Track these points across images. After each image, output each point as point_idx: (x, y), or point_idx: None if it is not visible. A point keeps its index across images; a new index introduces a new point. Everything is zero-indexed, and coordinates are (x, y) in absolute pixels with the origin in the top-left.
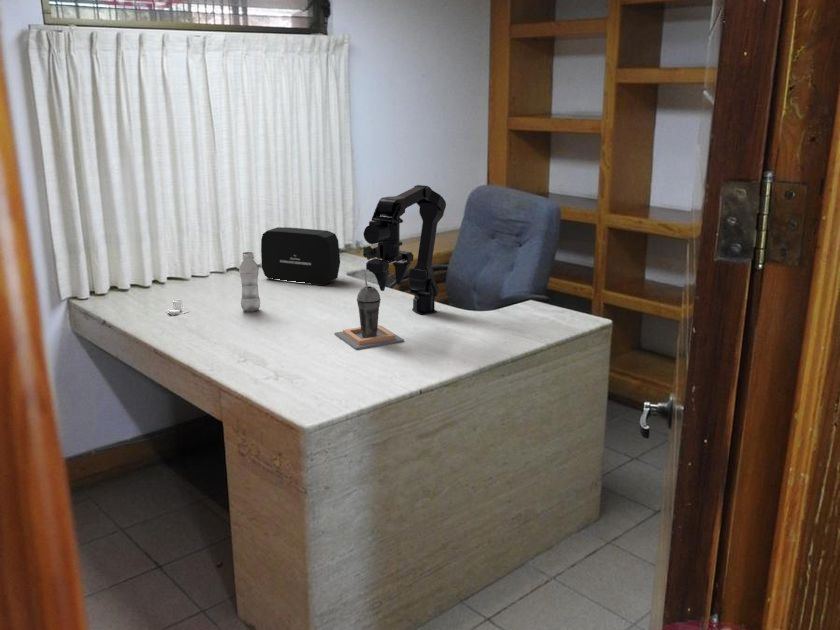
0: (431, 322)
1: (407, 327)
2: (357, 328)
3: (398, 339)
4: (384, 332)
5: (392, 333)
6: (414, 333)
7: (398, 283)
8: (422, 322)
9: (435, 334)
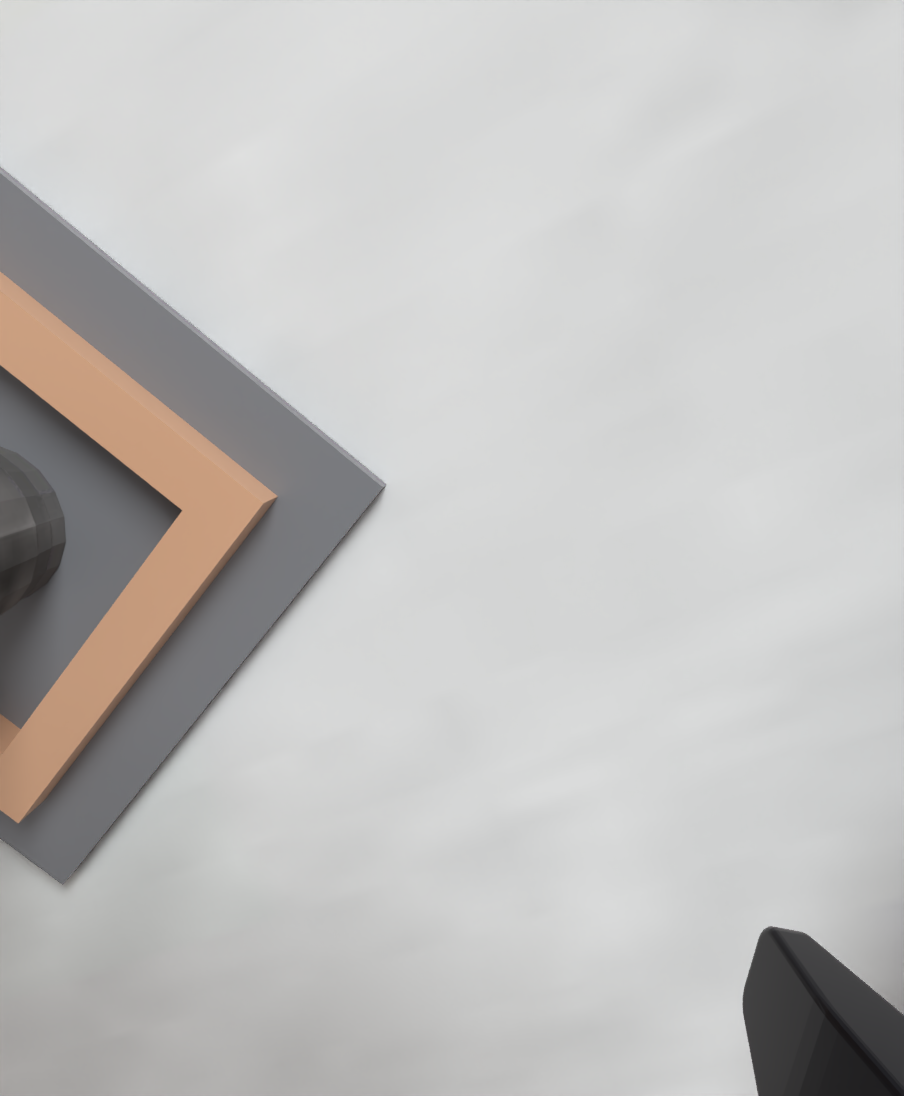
0: (774, 926)
1: (504, 755)
2: (6, 335)
3: (43, 834)
4: (57, 681)
5: (51, 779)
6: (345, 880)
7: (756, 1005)
8: (741, 842)
9: (402, 1059)
